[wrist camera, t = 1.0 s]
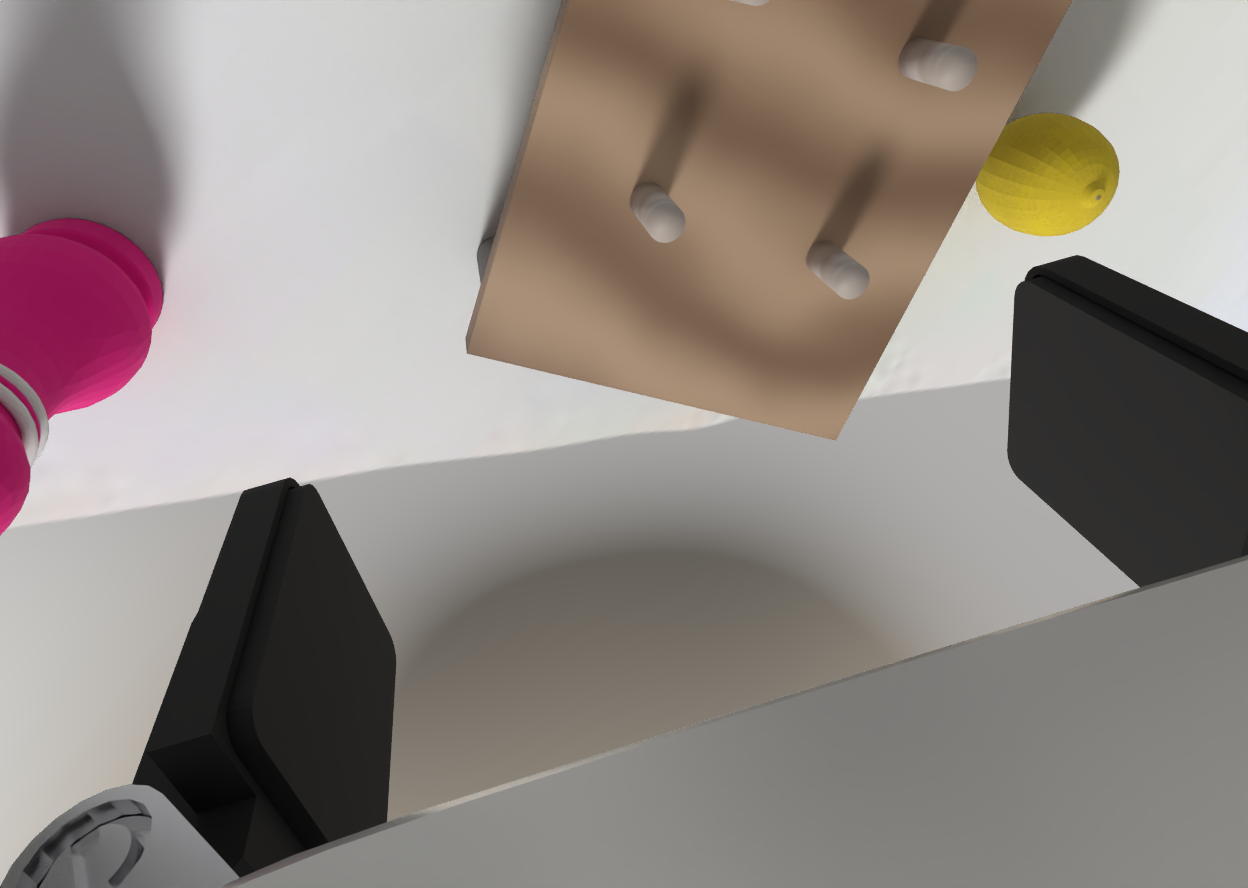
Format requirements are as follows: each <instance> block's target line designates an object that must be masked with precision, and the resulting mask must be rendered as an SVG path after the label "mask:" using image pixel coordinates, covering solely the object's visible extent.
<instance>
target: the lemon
mask: <svg viewBox="0 0 1248 888" xmlns="http://www.w3.org/2000/svg"><path fill="white" fill-rule="evenodd" d="M1118 179H1119V162H1118V158H1117V155H1116V153H1115V150H1114V148H1113V146H1112V145H1111V143H1110V142H1109V141H1108V140H1107V139H1106V138H1105V137H1104V136H1103V135H1102V134H1101V133H1100V132H1099V131H1098V130H1097V129H1096V128H1094V127H1093V126H1091V125H1089V124H1088V123H1086V122H1083V121H1081V120H1079V119H1077V118H1075V117H1072V116H1069V115H1063V114H1054V113H1039V114H1034V115H1028V116H1024V117H1022V118H1019V119H1017V120H1015V121H1013V122H1011V123H1009V124H1007V125H1006V126H1005V127H1004V128H1003V130H1002V132H1001V134H1000V136H999V138H998V140H997V141H996V143H995V145H994V147H993V149H992V151H991V153H990V154H989V156H988V158H987V160H986V162H985V164H984V166H983V167H982V169H981V171H980V173H979V175H978V177H977V179H976V189H977V192H978V195H979V198H980V200H981V203H982V204H983V205H984V207H985V208H986V209H987V211H988V212H989V213H990V214H991V215H992V216H993V217H994V218H995V219H996V220H997V221H999V222H1001V223H1002V224H1004V225H1005V226H1007V227H1009V228H1011V229H1013V230H1015V231H1018V232H1022V233H1027V234H1031V235H1036V236H1059V235H1065V234H1068V233H1071V232H1074V231H1077V230H1079V229H1081V228H1083V227H1085V226H1086V225H1088V224H1090V223H1091V222H1092V221H1094V220H1095V219H1096V218H1097V217H1098V216H1099V215H1101V213H1102V212H1103V211H1104V210H1105V209H1106V207H1107V206H1108V205H1109V203H1110V201H1111V200H1112V198H1113V196H1114V194H1115V191H1116V188H1117V186H1118Z"/></svg>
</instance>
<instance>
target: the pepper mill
mask: <svg viewBox="0 0 1248 888" xmlns="http://www.w3.org/2000/svg"><path fill="white" fill-rule="evenodd" d="M162 304H163V292H162V287H161V283H160V280H159V278H158V275H157V273H156V270H155V268H154V267H153V265H152V264H151V262H150V260H149V259H148V258H147V257H146V255H145V254H144V253H143V252H142V251H141V250H140V249H139V247H138V246H136V245H135V244H134V243H132V242H131V241H130V240H129V239H127V238H126V237H125V236H123V235H122V234H120V233H118V232H117V231H115V230H113V229H111V228H108V227H106V226H103V225H101V224H98V223H95V222H91V221H87V220H82V219H71V218H65V219H55V220H50V221H45V222H42V223H39V224H36V225H35V226H33V227H31V228H29V229H28V230H26V231H25V232H24V233H22V234H18V235H13V236H8V237H3V238H0V535H1V534H2V533H3V532H4V531H5V530H6V529H7V528H8V526H9V525H10V524H11V523H12V521H13V520H14V518H15V517H16V516H17V514H18V513H19V511H20V510H21V508H22V506H23V503H24V501H25V499H26V496H27V494H28V492H29V483H30V468H31V467H32V465H33V463H34V461H35V460H36V459H37V458H38V457H39V456H40V455H41V453H42V451H43V449H44V447H45V445H46V442H47V439H48V434H49V423H48V420H49V419H50V418H51V417H52V416H53V415H54V414H58V413H63V412H67V411H72V410H76V409H81V408H85V407H89V406H91V405H93V404H95V403H97V402H99V401H101V400H103V399H105V398H107V397H109V396H111V395H113V394H115V393H116V392H117V391H119V390H120V389H121V388H122V387H124V386H125V385H126V384H127V383H128V382H129V381H130V379H131V378H132V377H133V376H134V375H135V374H136V373H137V371H138V370H139V369H140V368H141V367H142V365H143V363H144V361H145V359H146V357H147V354H148V351H149V348H150V344H151V335H152V328H153V327H154V325H155V324H156V322H157V321H158V318H159V316H160V313H161V310H162Z"/></svg>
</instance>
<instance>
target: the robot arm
mask: <svg viewBox="0 0 1248 888" xmlns="http://www.w3.org/2000/svg"><path fill="white" fill-rule="evenodd" d="M1009 406H1010V407H1009V426H1008V427H1009V428H1008V449H1007V452H1008V459H1009V463H1010V466H1011V468H1012V470H1013V471H1014V473H1015V475H1016V476H1017V477H1018V478H1019V479H1020V480H1021V481H1022V482H1023V483H1024V484H1026V485H1027V486H1028V487H1029V488H1030V489H1031V490H1032V491H1033V492H1034V493H1035V494H1037V495H1038V496H1039V497H1040V498H1041V499H1042V500H1043V501H1044V502H1046V503H1047V504H1048V505H1049V506H1050V507H1051V508H1052V509H1053V510H1054V511H1056V512H1057V513H1058V514H1059V515H1060V516H1061V517H1062V518H1063V519H1065V520H1066V521H1067V522H1068V523H1069V524H1070V525H1071V526H1072V527H1073V528H1075V529H1076V530H1077V531H1078V532H1079V533H1080V534H1081V535H1082V536H1083V537H1085V538H1086V539H1087V540H1088V541H1089V542H1090V543H1091V544H1093V545H1094V546H1095V547H1096V548H1097V549H1098V550H1099V551H1100V552H1101V553H1103V554H1104V555H1105V556H1106V557H1107V558H1108V559H1109V560H1110V561H1111V562H1112V563H1114V564H1115V565H1116V566H1117V567H1118V568H1119V569H1120V570H1121V571H1123V572H1124V573H1125V574H1126V575H1127V576H1128V577H1129V578H1130V579H1132V580H1133V581H1134V582H1135V583H1136V584H1137V585H1138V586H1139V587H1140V588H1138V589H1134V590H1131V591H1127V592H1124V593H1121V594H1117V595H1114V596H1111V597H1107V598H1105V599H1101V600H1098V601H1095V602H1091V603H1088V604H1084V605H1081V606H1078V607H1074V608H1071V609H1068V610H1064V611H1061V612H1058V613H1054V614H1051V615H1048V616H1044V617H1041V618H1038V619H1034V620H1031V621H1028V622H1025V623H1021V624H1018V625H1015V626H1011V627H1008V628H1005V629H1002V630H998V631H995V632H992V633H989V634H986V635H982V636H979V637H976V638H972V639H969V640H966V641H962V642H959V643H956V644H953V645H949V646H946V647H943V648H940V649H937V650H933V651H930V652H927V653H923V654H920V655H917V656H914V657H910V658H907V659H904V660H900V661H897V662H894V663H891V664H887V665H884V666H881V667H878V668H874V669H871V670H868V671H865V672H861V673H858V674H855V675H852V676H849V677H845V678H842V679H839V680H836V681H833V682H829V683H826V684H823V685H820V686H816V687H813V688H810V689H807V690H803V691H800V692H797V693H793V694H790V695H787V696H784V697H781V698H777V699H774V700H771V701H768V702H764V703H761V704H758V705H755V706H752V707H748V708H745V709H742V710H739V711H735V712H732V713H730V714H726V715H723V716H719V717H716V718H713V719H710V720H707V721H703V722H700V723H697V724H694V725H691V726H687V727H684V728H681V729H678V730H675V731H672V732H668V733H665V734H662V735H659V736H656V737H652V738H649V739H646V740H643V741H640V742H637V743H633V744H630V745H627V746H624V747H621V748H617V749H614V750H611V751H608V752H605V753H601V754H598V755H595V756H592V757H589V758H585V759H582V760H579V761H576V762H573V763H570V764H566V765H563V766H560V767H557V768H554V769H550V770H547V771H544V772H541V773H538V774H534V775H531V776H528V777H525V778H522V779H519V780H515V781H513V782H509V783H506V784H503V785H500V786H496V787H493V788H490V789H487V790H484V791H481V792H477V793H475V794H471V795H468V796H465V797H462V798H458V799H455V800H452V801H449V802H446V803H443V804H439V805H436V806H433V807H430V808H427V809H424V810H421V811H417V812H415V813H412V814H409V815H406V816H404V817H400V818H397V819H395V820H392V821H389V822H387V810H388V793H389V777H390V760H391V759H390V758H391V742H392V726H393V708H394V691H395V675H396V654H395V649H394V644H393V641H392V638H391V636H390V634H389V631H388V629H387V627H386V625H385V623H384V622H383V619H382V618H381V616H380V614H379V612H378V610H377V608H376V606H375V604H374V602H373V600H372V598H371V596H370V594H369V592H368V590H367V588H366V586H365V584H364V582H363V580H362V578H361V576H360V574H359V572H358V570H357V568H356V566H355V565H354V562H353V560H352V558H351V557H350V554H349V552H348V551H347V548H346V546H345V544H344V542H343V541H342V539H341V537H340V535H339V533H338V531H337V529H336V527H335V525H334V523H333V521H332V519H331V517H330V515H329V513H328V511H327V509H326V507H325V505H324V503H323V501H322V499H321V497H320V495H319V493H318V492H317V490H316V489H315V488H314V486H313V485H311V484H307V485H304V486H299V484H298V483H297V482H296V481H295V480H294V479H292V478H287V479H283V480H280V481H276V482H273V483H269V484H265V485H262V486H258V487H255V488H251V489H248V490H245V491H243V493H242V494H241V497H240V499H239V502H238V505H237V508H236V510H235V513H234V515H233V518H232V521H231V524H230V526H229V529H228V532H227V535H226V537H225V540H224V543H223V545H222V548H221V551H220V554H219V557H218V559H217V562H216V565H215V567H214V570H213V573H212V575H211V578H210V581H209V584H208V587H207V589H206V592H205V595H204V597H203V600H202V603H201V606H200V608H199V611H198V613H197V615H196V617H195V618H194V620H193V622H192V624H191V626H190V629H189V632H188V634H187V637H186V640H185V643H184V645H183V648H182V651H181V654H180V656H179V659H178V661H177V664H176V667H175V670H174V672H173V675H172V678H171V680H170V683H169V686H168V689H167V691H166V694H165V697H164V699H163V702H162V705H161V707H160V710H159V713H158V715H157V718H156V721H155V724H154V726H153V729H152V732H151V734H150V737H149V740H148V742H147V745H146V748H145V751H144V753H143V756H142V759H141V762H140V764H139V767H138V769H137V772H136V775H135V778H134V780H133V783H132V784H129V785H125V786H121V787H116V788H112V789H108V790H105V791H103V792H101V793H99V794H96V795H94V796H92V797H90V798H88V799H86V800H83V801H81V802H80V803H78V804H77V805H75V806H74V807H72V808H71V809H69V810H68V811H66V812H65V813H63V814H62V815H60V816H59V817H58V818H56V819H55V820H54V821H53V822H51V823H50V825H48V826H47V827H46V828H45V829H44V830H43V831H42V832H41V833H39V834H38V835H37V836H36V837H35V838H34V839H33V840H32V841H31V842H30V843H29V845H28V846H27V847H26V848H25V849H24V851H23V852H22V853H21V854H20V856H19V857H18V858H17V859H16V861H15V862H14V863H13V864H12V866H11V868H10V869H9V871H8V873H7V875H6V877H5V879H4V880H3V882H2V884H1V886H0V888H1248V332H1246V331H1244V330H1241V329H1239V328H1237V327H1235V326H1233V325H1231V324H1228V323H1226V322H1224V321H1222V320H1220V319H1218V318H1215V317H1213V316H1211V315H1209V314H1207V313H1205V312H1202V311H1200V310H1198V309H1196V308H1194V307H1192V306H1189V305H1187V304H1185V303H1183V302H1181V301H1179V300H1176V299H1174V298H1172V297H1170V296H1168V295H1166V294H1163V293H1161V292H1159V291H1157V290H1155V289H1153V288H1150V287H1148V286H1146V285H1144V284H1142V283H1140V282H1137V281H1135V280H1133V279H1131V278H1129V277H1127V276H1125V275H1122V274H1120V273H1118V272H1116V271H1114V270H1112V269H1109V268H1107V267H1105V266H1103V265H1101V264H1099V263H1096V262H1094V261H1092V260H1090V259H1088V258H1086V257H1083V256H1079V255H1076V256H1072V257H1068V258H1064V259H1061V260H1057V261H1054V262H1050V263H1047V264H1043V265H1040V266H1036V267H1033V268H1032V269H1031V270H1030V271H1028V273H1027V275H1026V277H1025V281H1023V282H1021V283H1020V284H1019V285H1018V286H1017V288H1016V290H1015V297H1014V318H1013V340H1012V361H1011V383H1010V405H1009Z"/></svg>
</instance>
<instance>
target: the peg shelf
mask: <svg viewBox="0 0 1248 888" xmlns="http://www.w3.org/2000/svg"><path fill="white" fill-rule="evenodd" d="M1071 2H1072V0H562V3H561V6H560V10H559V13H558V17H557V20H556V24H555V27H554V31H553V34H552V38H551V41H550V45H549V48H548V52H547V55H546V59H545V62H544V66H543V69H542V73H541V76H540V80H539V83H538V87H537V90H536V94H535V97H534V101H533V104H532V108H531V111H530V115H529V118H528V122H527V125H526V129H525V132H524V136H523V139H522V143H521V146H520V150H519V153H518V157H517V160H516V164H515V167H514V171H513V174H512V178H511V181H510V185H509V188H508V192H507V195H506V199H505V202H504V206H503V209H502V213H501V216H500V220H499V223H498V227H497V230H496V234H495V237H492V238H489V239H487V240H485V241H484V242H483V243H482V244H481V245H480V247H479V249H478V252H477V261H478V268H479V275H480V281H481V286H480V290H479V293H478V297H477V300H476V304H475V307H474V311H473V314H472V318H471V321H470V325H469V328H468V332H467V335H466V348H467V354H472V355H476V356H480V357H484V358H489V359H493V360H497V361H501V362H506V363H510V364H514V365H518V366H522V367H527V368H531V369H535V370H539V371H544V372H548V373H552V374H556V375H561V376H565V377H569V378H573V379H578V380H582V381H586V382H590V383H594V384H599V385H603V386H607V387H611V388H616V389H620V390H624V391H628V392H633V393H637V394H641V395H645V396H649V397H654V398H658V399H662V400H666V401H671V402H675V403H679V404H683V405H688V406H692V407H696V408H700V409H705V410H709V411H713V412H717V413H721V414H726V415H730V416H734V417H738V418H743V419H747V420H751V421H755V422H760V423H764V424H768V425H772V426H777V427H781V428H785V429H789V430H794V431H798V432H802V433H806V434H810V435H815V436H819V437H823V438H828V439H832V440H836V439H837V437H838V435H839V433H840V432H841V430H842V428H843V426H844V424H845V422H846V420H847V419H848V417H849V415H850V413H851V411H852V409H853V408H854V406H855V404H856V402H857V400H858V398H859V396H860V394H861V393H862V391H863V389H864V387H865V385H866V383H867V381H868V380H869V378H870V376H871V374H872V372H873V370H874V368H875V367H876V365H877V363H878V361H879V359H880V357H881V355H882V354H883V352H884V350H885V348H886V346H887V344H888V342H889V341H890V339H891V337H892V335H893V333H894V331H895V329H896V327H897V326H898V324H899V322H900V320H901V318H902V316H903V314H904V313H905V311H906V309H907V307H908V305H909V303H910V301H911V300H912V298H913V296H914V294H915V292H916V290H917V288H918V287H919V285H920V283H921V281H922V279H923V277H924V275H925V274H926V272H927V270H928V268H929V266H930V264H931V262H932V260H933V259H934V257H935V255H936V253H937V251H938V249H939V247H940V246H941V244H942V242H943V240H944V238H945V236H946V234H947V233H948V231H949V229H950V227H951V225H952V223H953V221H954V220H955V218H956V216H957V214H958V212H959V210H960V208H961V207H962V205H963V203H964V201H965V199H966V197H967V195H968V193H969V192H970V190H971V188H972V186H973V184H974V182H975V180H976V179H977V177H978V175H979V173H980V171H981V169H982V167H983V166H984V164H985V162H986V160H987V158H988V156H989V154H990V153H991V151H992V149H993V147H994V145H995V143H996V141H997V140H998V138H999V136H1000V134H1001V132H1002V130H1003V128H1004V126H1005V125H1006V123H1007V121H1008V119H1009V117H1010V115H1011V113H1012V112H1013V110H1014V108H1015V106H1016V104H1017V102H1018V100H1019V99H1020V97H1021V95H1022V93H1023V91H1024V89H1025V87H1026V86H1027V84H1028V82H1029V80H1030V78H1031V76H1032V74H1033V73H1034V71H1035V69H1036V67H1037V65H1038V63H1039V61H1040V59H1041V58H1042V56H1043V54H1044V52H1045V50H1046V48H1047V46H1048V45H1049V43H1050V41H1051V39H1052V37H1053V35H1054V33H1055V32H1056V30H1057V28H1058V26H1059V24H1060V22H1061V20H1062V19H1063V17H1064V15H1065V13H1066V11H1067V9H1068V7H1069V6H1070V4H1071Z"/></svg>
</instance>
